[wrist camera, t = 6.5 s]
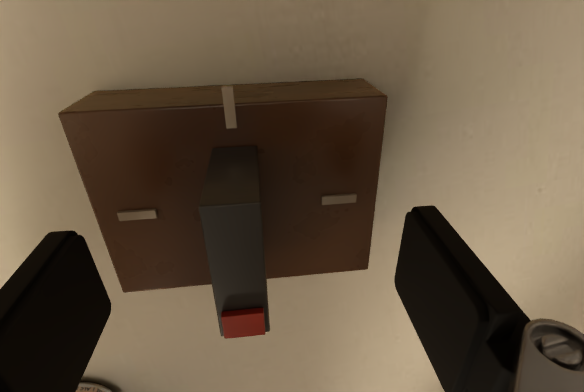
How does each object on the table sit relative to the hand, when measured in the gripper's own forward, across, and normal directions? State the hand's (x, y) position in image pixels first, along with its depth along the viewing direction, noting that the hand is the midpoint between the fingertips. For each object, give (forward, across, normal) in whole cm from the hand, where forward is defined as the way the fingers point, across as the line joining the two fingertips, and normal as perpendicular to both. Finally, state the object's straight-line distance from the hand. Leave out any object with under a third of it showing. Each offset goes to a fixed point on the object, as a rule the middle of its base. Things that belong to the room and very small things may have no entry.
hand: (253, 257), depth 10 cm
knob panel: (+7, +1, 0) cm, 7 cm away
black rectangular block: (+4, +1, 0) cm, 4 cm away
